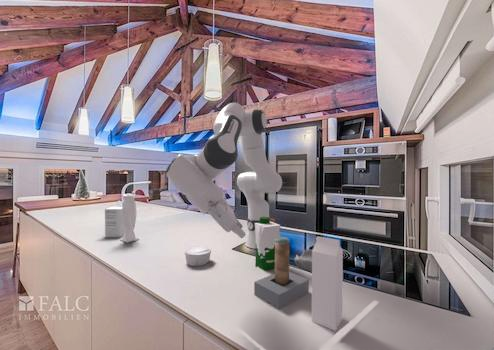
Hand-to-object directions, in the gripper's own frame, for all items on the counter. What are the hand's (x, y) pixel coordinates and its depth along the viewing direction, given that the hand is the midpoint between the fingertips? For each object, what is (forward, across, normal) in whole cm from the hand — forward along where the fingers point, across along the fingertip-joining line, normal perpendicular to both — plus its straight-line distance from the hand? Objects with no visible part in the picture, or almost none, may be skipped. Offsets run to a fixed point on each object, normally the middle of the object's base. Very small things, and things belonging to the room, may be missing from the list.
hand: (242, 231), depth 71 cm
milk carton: (+23, +22, +6) cm, 32 cm away
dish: (+37, +22, -8) cm, 43 cm away
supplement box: (-35, +79, +65) cm, 108 cm away
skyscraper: (-26, +66, +56) cm, 90 cm away
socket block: (+23, 0, +6) cm, 24 cm away
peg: (+22, 0, +5) cm, 23 cm away
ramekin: (+3, +31, +26) cm, 41 cm away
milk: (+29, -14, 0) cm, 32 cm away
